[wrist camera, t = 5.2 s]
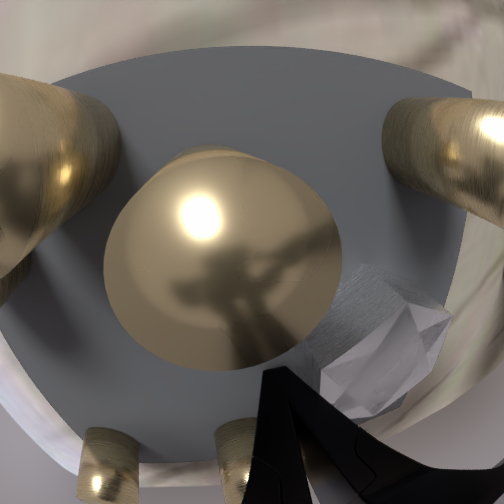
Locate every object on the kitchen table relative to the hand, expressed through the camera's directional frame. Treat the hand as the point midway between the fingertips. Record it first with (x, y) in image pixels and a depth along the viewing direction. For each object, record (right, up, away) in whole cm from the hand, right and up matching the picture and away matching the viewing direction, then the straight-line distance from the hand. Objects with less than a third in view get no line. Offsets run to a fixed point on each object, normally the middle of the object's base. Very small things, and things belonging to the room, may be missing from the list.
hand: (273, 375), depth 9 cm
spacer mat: (-1, +1, +1) cm, 2 cm away
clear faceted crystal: (+3, +1, +1) cm, 4 cm away
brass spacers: (-2, +1, 0) cm, 2 cm away
